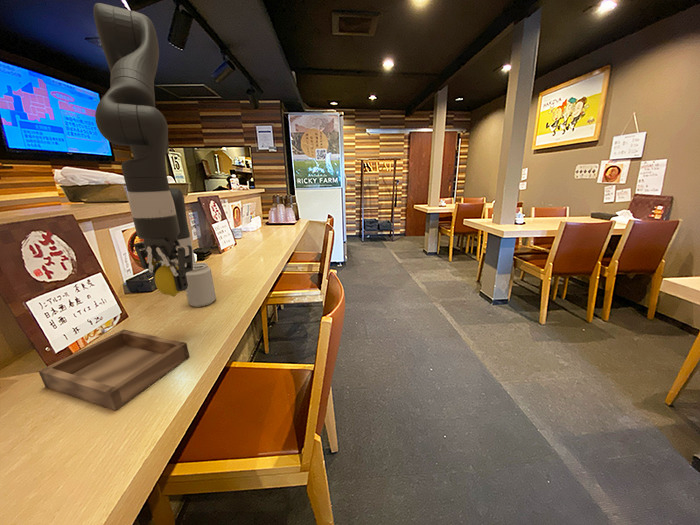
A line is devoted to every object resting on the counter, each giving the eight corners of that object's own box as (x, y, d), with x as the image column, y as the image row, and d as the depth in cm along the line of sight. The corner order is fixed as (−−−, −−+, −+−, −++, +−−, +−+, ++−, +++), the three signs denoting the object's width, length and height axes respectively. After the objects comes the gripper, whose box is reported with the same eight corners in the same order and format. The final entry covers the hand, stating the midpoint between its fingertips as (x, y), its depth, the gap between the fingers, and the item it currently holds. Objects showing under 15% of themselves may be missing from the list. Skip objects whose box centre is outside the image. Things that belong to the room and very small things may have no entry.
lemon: (170, 291, 65) (162, 259, 62) (192, 291, 64) (186, 259, 62) (153, 301, 59) (144, 267, 57) (177, 301, 59) (170, 267, 57)
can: (205, 309, 78) (197, 270, 74) (182, 307, 79) (174, 268, 76) (221, 298, 85) (215, 262, 81) (201, 296, 86) (193, 260, 83)
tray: (45, 386, 49) (38, 371, 48) (127, 342, 62) (123, 329, 61) (115, 410, 44) (109, 393, 43) (189, 356, 57) (186, 342, 56)
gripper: (196, 212, 57) (210, 285, 63) (146, 209, 61) (163, 278, 67) (164, 218, 50) (182, 299, 56) (110, 214, 54) (132, 290, 60)
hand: (171, 288), depth 61 cm, fingers closed on lemon, 5 cm apart
